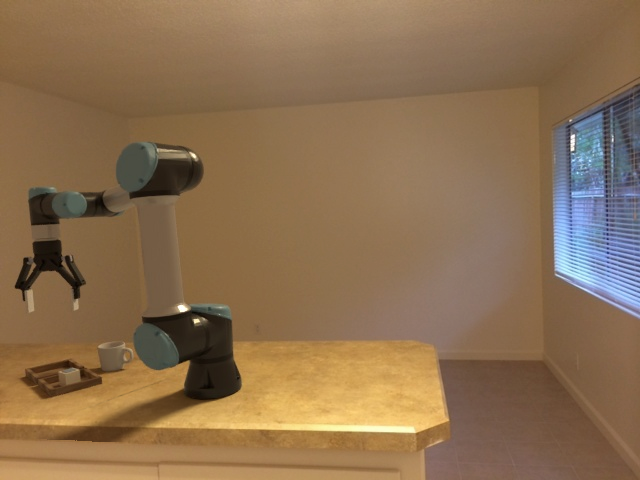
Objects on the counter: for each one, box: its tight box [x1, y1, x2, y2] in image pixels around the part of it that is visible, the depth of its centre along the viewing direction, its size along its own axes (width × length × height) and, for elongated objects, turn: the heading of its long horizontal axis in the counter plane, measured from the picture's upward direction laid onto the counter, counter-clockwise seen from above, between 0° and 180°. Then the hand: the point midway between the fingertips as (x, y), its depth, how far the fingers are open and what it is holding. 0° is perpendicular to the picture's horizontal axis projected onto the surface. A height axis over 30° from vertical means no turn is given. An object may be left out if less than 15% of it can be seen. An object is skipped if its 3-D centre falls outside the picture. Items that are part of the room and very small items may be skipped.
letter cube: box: [58, 368, 81, 386], centre depth 140 cm, size 4×4×4 cm
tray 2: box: [37, 367, 103, 398], centre depth 140 cm, size 13×13×2 cm
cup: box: [96, 341, 134, 373], centre depth 153 cm, size 11×8×8 cm
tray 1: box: [24, 358, 86, 386], centre depth 150 cm, size 13×13×2 cm
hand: (52, 311), depth 147 cm, fingers open, 13 cm apart
